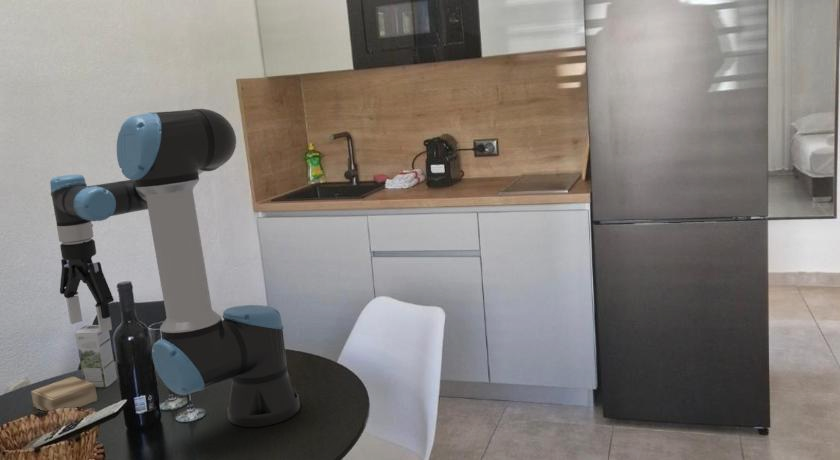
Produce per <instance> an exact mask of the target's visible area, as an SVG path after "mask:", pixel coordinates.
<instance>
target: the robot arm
mask: <svg viewBox="0 0 840 460" xmlns="http://www.w3.org/2000/svg"><path fill="white" fill-rule="evenodd" d="M236 147H237V137H236V133H235V130H234V128H233V125H232V123H230V121H229V120H227V118H225V117H224V115H222V114H220V113H218V112H216V111H214V110H211V109H205V108H193V109H185V110H171V111H170V110H169V111H158V112H148V113H143V114H142V113H141V114H136V115H132V116H129V117H128V118H127V119H126V120H125V121H124V122H123V123H122V124H121V127H120V129H119V131H118V135H117V139H116V159H117V162H118V163H117V164H118V166H119V168H120V169H121V173H122V175H123V176H124V177H125V178H126V180H121V181H113V182H105V183H101V184H95V185H87V183H86V179H85V177H84V176H83V175H82V174H65V175H58V176H55V177H52V179H50V182H49V185H50V195H51V198H52V205H53V210H54V211H53V212H54V216H55V222H56V229H57V236H58V242H60V243H61V244H60V246H59V248H60V252H61V260H60V261H61V275H60V283H59V284H60V286H59V287H60V288H59V293H60V295H64V298H65V299H66V304H67V312H68V316H69V322H70V323H69V324H70V325H73V324H76V323H80V322H83V316H82V310H81V304H80V297H79V292H78V290H79V286H80V282H81V281H82V282H83V283H84V284H85V285H86V286H87V287H88V289H89V292H90V293H91V295H92V297H93V299H94V300H95V302H96V303H95V304H94V306H95V308H96V309H95V310H96V316H97V322H98V325H99V330H100V332H101V333H102V332H105V331H109V332H110V331H112V330H113V326H112V320H111V313H110V306H109V304H110V303H112V302H114V301H115V300H114V297H113V294H112V292H111V289H110V287H109V284H108V282H107V279H106V277H105V274H104V271H103V269H102V265H101V262H100V261H97V262H93V260H92V258H93V257H94V256H96V255H97V248H96V241H95V240H94V231H93V230H94V229H93V228H94V227H93V226H94V225H93V223H92V222H96V221H97V222H102V221H106V220H107V219H109V218H110V217H114V216H119V215H125V214H129V213H134V212H139V211H145V210H147V212H148V216H149V222H150V228H151V235H152V239H153V245H154V252H155V257H156V264H157V269H158V275H159V282H160V287H161V291H162V292H161V293H162V298H163V303H164V309H165V316H166V318H165V320H164V321H163V323H162V324H161V325H160V326H159V327H160V328H159V330H160V336H161V339H158V340H157V341H155V342H154V343H153V345H152V348H151V349H152V350H151V357H152V361H153V362H152V363H153V366H154V367H155V370H156V372H157V374H158V376H159V377H160V379H161V381H162V383H163V384H164V386H166V387H167V388H168V390H170V391H172V393H174V394H177V395H180V396H185V395H189V394H192V393H196V392H201V391H203V390H205V389H207V388H210V387H213V386H215V385H217V384H220V383H222V382H225V381H227V380H228V381H229V380H231V386H230V387H231V388H230V392H229V398H228V403H227V406H226V407H227V408H226V412H227V419H228V421H229V422H230V423H231V424H233V425H235V426H239V427H242V428H258V427H267V426H271V425H275V424H279V423H281V422H284V421H286V420H289V419H291V418H292V417H294V416H295V415H296V414H297V413H298V412H299V410H300V409H301V404H300V403H301V402H300V398H299V394H298V392H297V390H296V387H295V386H294V384H293V381H292V379H291V377H290V375H289V372H288V365H287V355H286V348H285V347H286V346H285V338H284V325H283V321H282V316H281V313H280V312H279V310H278V309H276V308H274V307H272V306H268V305H259V304H254V305H253V304H250V305H249V304H248V305H245V304H244V305H237V306H232V307H228V308H226V309H225V310H224V311H222V316H221V314H219V313H218V312H216V311H214V310H213V308H212V301H211V296H210V295H211V294H210V289H209V283H208V277H207V269H206V263H205V258H204V252H203V246H202V240H201V233H200V229H199V228H200V226H199V221H198V213H197V209H196V203H195V202H196V201H195V197H194V189H195V187H196V185H197V184H198V182H199V181H200V177H199V176H200V175H201V174H202V173H204V172H212V171H213V172H214V171H215V170H218V168H220V167H221V166H223V165H225V164H226V163H228V161H229V160H230V159H232V157H233V155H234V153H235V152H236V151H235V150H236ZM127 179H128V180H127Z"/></svg>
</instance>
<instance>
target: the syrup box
mask: <svg viewBox="0 0 840 460" xmlns="http://www.w3.org/2000/svg"><path fill="white" fill-rule="evenodd" d="M74 334H75V340H76V341H75V342H76V346H77V352H78V357H79V363H80V368H81V369H80V370H81V373H82V380H85V381H87V382H90V383H93V384H95V388H96V389H105V388H108V387H109V386H111V385H112V384H113V383H114V382H116V381H117V380H118V376H117V372H116V365H115V359H114V355H113V348H112V344H111V343H112V342H111V336H110V330H109V331H105V332H102V333H101V332H100V330H99V324H90V325H85V326H82V327H81V328H80V329H78V330H77V331H75V332H74Z"/></svg>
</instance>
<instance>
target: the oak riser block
mask: <svg viewBox="0 0 840 460" xmlns="http://www.w3.org/2000/svg"><path fill="white" fill-rule="evenodd" d="M30 393H31V394H30V395H31V399H32V405H33V408H34V407H36V408H38V409H40V410H44V411H47V410H54V409H58V408H64V407H79V408H82V407H84V406H88V405H89V404H91V403H94V402H97V401H98V396H97V388H95V384H93V383H90V382H87V381H85V380H83V378H82V379H81V378H78V377H76V376H69V377H66V378H64V379H61V380H59V381H56V382H53V383H51V384H47V385H45V386H40V387H39V388H36V389H34V390H31V391H30ZM36 408H35V409H36ZM38 409H37V410H38ZM40 410H39V411H40Z"/></svg>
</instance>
